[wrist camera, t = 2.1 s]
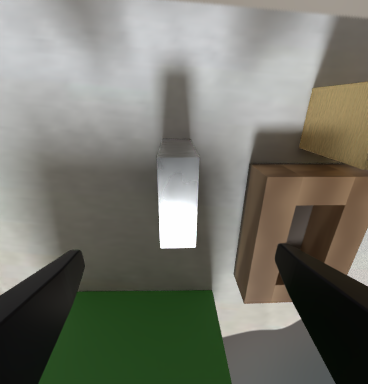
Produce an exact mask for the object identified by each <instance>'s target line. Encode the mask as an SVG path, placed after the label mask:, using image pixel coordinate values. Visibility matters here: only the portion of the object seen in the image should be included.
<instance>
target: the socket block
mask: <svg viewBox="0 0 368 384" xmlns="http://www.w3.org/2000/svg"><path fill="white" fill-rule="evenodd" d="M367 228H368V169H359V168H356V167H354V166H351V165H348V164H345V163H250V165H249V172H248V179H247V186H246V193H245V200H244V207H243V214H242V221H241V228H240V234H239V241H238V248H237V255H236V262H235V269H234V277H235V279H236V282H237V285H238V288H239V291H240V293H241V296H242V299H243V302H244V304H250V303H278V302H292V300H291V298H290V296H289V294H288V292H287V290H286V288H285V285H284V283H283V280H282V278H281V275H280V273H279V270H278V268H277V265H276V263H275V253H276V249H277V245H278V244H279V243H288V244H290V245H292V246H294V247H296V248H298V249H300V250H301V251H303V252H305V253H307V254H309V255H311V256H312V257H314V258H316V259H318V260H320V261H322V262H323V263H325V264H327V265H329V266H331V267H333V268H334V269H336V270H338V271H340V272H342V273H344V274H346V275H347V274H348V272H349V269H350V267H351V265H352V262H353V260H354V258H355V255H356V253H357V251H358V249H359V246H360V244H361V242H362V239H363V237H364V235H365V233H366V230H367Z"/></svg>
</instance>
